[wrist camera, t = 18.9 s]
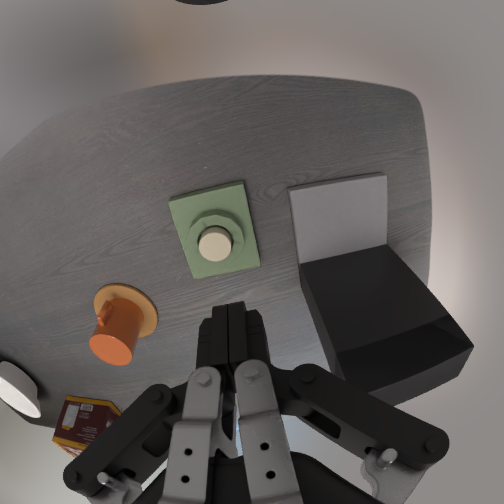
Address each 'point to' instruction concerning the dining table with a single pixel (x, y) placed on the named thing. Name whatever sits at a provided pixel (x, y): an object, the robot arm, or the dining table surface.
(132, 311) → the cup
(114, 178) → the dining table surface
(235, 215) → the button block
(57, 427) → the supplement box
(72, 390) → the dining table surface
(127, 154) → the dining table surface
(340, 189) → the l-shaped bookend
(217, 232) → the power button
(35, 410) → the bowl
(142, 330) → the coaster
